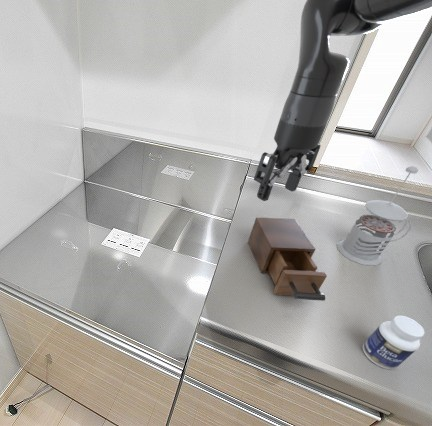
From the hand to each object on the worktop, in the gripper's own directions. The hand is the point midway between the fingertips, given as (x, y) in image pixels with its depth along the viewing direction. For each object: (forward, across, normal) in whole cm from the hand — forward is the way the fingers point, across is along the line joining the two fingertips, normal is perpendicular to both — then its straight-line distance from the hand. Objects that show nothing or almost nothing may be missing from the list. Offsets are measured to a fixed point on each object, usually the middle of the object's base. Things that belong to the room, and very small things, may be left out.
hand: (276, 194), depth 63 cm
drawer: (+20, +2, -9) cm, 22 cm away
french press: (+21, +29, -10) cm, 37 cm away
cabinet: (+21, +7, -1) cm, 22 cm away
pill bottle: (+21, +3, -28) cm, 35 cm away
